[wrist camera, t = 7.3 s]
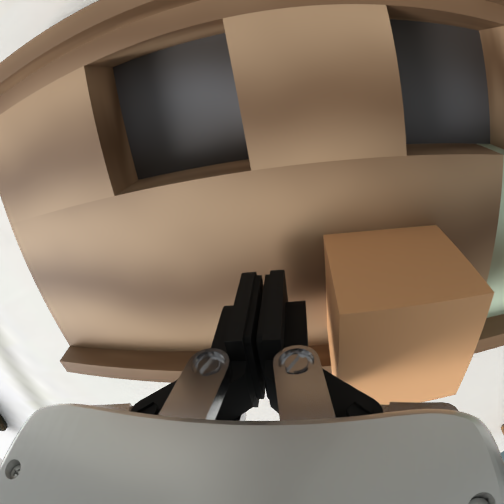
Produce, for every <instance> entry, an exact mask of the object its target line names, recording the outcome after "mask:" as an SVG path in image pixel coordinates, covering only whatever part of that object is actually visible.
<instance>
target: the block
mask: <svg viewBox="0 0 504 504" xmlns="http://www.w3.org/2000/svg"><path fill="white" fill-rule="evenodd" d="M323 239H324V256H325V276H326V303H327V332H328V341H329V350H330V359H331V369H332V374H333V375H334V376H336V377H338V378H339V379H341V380H343V381H344V382H346V383H348V384H349V385H351V386H353V387H354V388H356V389H358V390H359V391H361V392H363V393H365V394H366V395H368V396H370V397H371V398H373V399H375V400H376V401H377V402H378V403H379V404H382V405H389V403H390V402H415V403H420V402H425V401H430V400H434V399H438V398H443V397H447V396H451V395H455V394H456V392H457V390H458V388H459V386H460V384H461V382H462V380H463V377H464V375H465V373H466V371H467V368H468V366H469V364H470V361H471V359H472V356H473V354H474V351H475V349H476V346H477V343H478V341H479V338H480V335H481V333H482V330H483V327H484V324H485V321H486V318H487V315H488V312H489V309H490V306H491V302H492V299H493V295H494V291H493V290H492V289H491V287H490V286H489V285H488V284H487V282H486V281H485V280H484V279H483V277H482V276H481V275H480V274H479V273H478V271H477V270H476V269H475V268H474V266H473V265H472V264H471V263H470V262H469V261H468V259H467V258H466V257H465V256H464V255H463V254H462V252H461V251H460V250H459V249H458V248H457V247H456V246H455V245H454V243H453V242H452V241H451V240H450V239H449V238H448V237H447V236H446V235H445V234H444V233H443V232H442V230H441V229H440V228H439V227H438V226H437V225H430V226H418V227H406V228H394V229H383V230H371V231H360V232H349V233H337V234H326V235H323Z"/></svg>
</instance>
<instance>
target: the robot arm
mask: <svg viewBox="0 0 504 504" xmlns="http://www.w3.org/2000/svg"><path fill="white" fill-rule="evenodd" d="M265 388H266V393H267V397H268V399H269V400H270V405H271V407H272V408H273V409H274V410H275V411H277V412H278V413H279V416H280V421H245V420H246V411H248V410H249V409H251V408H252V407H258V404H259V399H264V395H265ZM0 504H504V462H503V459H502V457H501V454H500V451H499V449H498V446H497V444H496V442H495V440H494V438H493V436H492V434H491V432H490V431H489V429H488V428H487V427H486V425H485V424H484V423H483V422H482V421H481V420H480V419H478V418H477V417H475V416H473V415H470V414H467V413H464V412H459V411H458V410H457V408H456V407H455V406H453V405H451V404H449V403H443V402H439V403H415V402H390V403H389V405H382V404H379V403H378V402H377V401H376V400H375V399H373V398H371V397H370V396H368V395H366V394H365V393H363V392H361V391H359V390H358V389H356V388H354V387H353V386H351V385H349V384H348V383H346V382H344V381H343V380H341V379H339V378H338V377H336V376H334V375H333V374H331V373H329V372H328V371H326V370H324V369H323V368H322V366H321V362H320V359H319V356H318V354H317V352H316V351H314V350H313V349H312V348H310V347H308V330H307V314H306V301H293V302H288V295H287V286H286V278H285V271H284V270H271V271H270V274H267V275H265V279H264V285H263V279H262V275H257V273H256V272H246V273H242V274H241V278H240V282H239V285H238V289H237V293H236V297H235V301H234V305H230V306H224V307H223V309H222V312H221V315H220V319H219V322H218V325H217V329H216V332H215V335H214V339H213V342H212V345H211V348H208V349H204V350H201V351H199V352H197V353H195V354H194V355H193V356H191V358H190V359H189V360H188V362H187V364H186V366H185V367H184V369H183V371H182V373H181V375H180V376H179V378H178V380H176V381H174V382H172V383H171V384H169V385H167V386H165V387H164V388H162V389H160V390H158V391H156V392H155V393H153V394H151V395H149V396H148V397H146V398H144V399H142V400H140V401H139V402H138V403H136V404H135V405H134V406H132V405H131V404H130V403H129V404H113V405H83V404H56V405H50V406H46V407H43V408H40V409H38V410H37V411H35V412H34V413H33V414H32V415H31V416H30V417H29V418H28V420H27V421H26V422H25V424H24V425H23V426H22V428H21V429H20V431H19V432H18V434H17V436H16V437H15V439H14V441H13V442H12V444H11V446H10V448H9V450H8V451H7V453H6V455H5V457H4V459H3V461H2V463H1V465H0Z"/></svg>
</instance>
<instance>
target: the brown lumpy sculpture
mask: <svg viewBox="0 0 504 504" xmlns="http://www.w3.org/2000/svg"><path fill="white" fill-rule="evenodd" d="M6 428H7V426H6V422H5V421H4V419H3V418H2V416H1V415H0V431H5V430H6Z"/></svg>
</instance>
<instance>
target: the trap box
mask: <svg viewBox="0 0 504 504" xmlns="http://www.w3.org/2000/svg"><path fill="white" fill-rule="evenodd" d="M0 196H1V199H2V202H3V205H4V208H5V211H6V213H7V216H8V219H9V222H10V224H11V227H12V230H13V232H14V235H15V237H16V240H17V242H18V245H19V247H20V250H21V252H22V254H23V257H24V259H25V261H26V264H27V266H28V268H29V270H30V272H31V274H32V277H33V279H34V281H35V283H36V285H37V287H38V289H39V291H40V293H41V295H42V297H43V299H44V301H45V303H46V305H47V307H48V308H49V310H50V312H51V314H52V316H53V318H54V319H55V321H56V323H57V325H58V326H59V328H60V330H61V332H62V333H63V335H64V337H65V338H66V340H67V342H68V343H69V345H70V347H69V348H68V350H67V351H66V353H65V354H64V356H63V357H62V359H61V360H60V362H61V363H62V365H63V366H64V368H65V369H66V371H67V372H73V373H80V374H87V375H94V376H102V377H110V378H119V379H129V380H141V381H154V382H171V383H172V382H174V381H176V380H178V378H179V376H180V375H181V373H182V371H183V369H184V367H185V366H186V364H187V362H188V360H189V359H190V358H191V356H193V355H194V354H195V353H197V352H199V351H201V350H204V349H208V348H211V345H212V342H213V339H214V335H215V332H216V329H217V325H218V322H219V319H220V315H221V312H222V309H223V307H224V306H230V305H234V301H235V297H236V293H237V289H238V285H239V282H240V278H241V274H242V273H246V272H256V273H257V275H262V279H263V285H264V279H265V275H267V274H270V271H271V270H284V271H285V278H286V286H287V295H288V302H293V301H306V314H307V330H308V347H310V348H312V349H313V350H314V351H316V352H317V354H318V356H319V359H320V362H321V366H322V368H323V369H324V370H326V371H328V372H329V373H331V374H332V369H331V359H330V350H329V341H328V332H327V303H326V276H325V256H324V239H323V235H326V234H337V233H349V232H360V231H371V230H383V229H394V228H406V227H418V226H430V225H437V226H438V227H439V228H440V229H441V230H442V232H443V233H444V234H445V235H446V236H447V237H448V238H449V239H450V240H451V241H452V242H453V243H454V245H455V246H456V247H457V248H458V249H459V250H460V251H461V252H462V254H463V255H464V256H465V257H466V258H467V259H468V261H469V262H470V263H471V264H472V265H473V266H474V268H475V269H476V270H477V271H478V273H479V274H480V275H481V276H482V277H483V279H484V280H485V281H486V282H487V284H488V285H489V286H490V287H491V289H492V290H493V291H494V295H493V299H492V302H491V306H490V309H489V312H488V315H487V318H486V321H485V324H484V327H483V330H482V333H481V335H480V338H479V341H478V343H477V346H476V349H475V351H474V353H478V352H482V351H486V350H489V349H493V348H496V347H500V346H503V345H504V0H99V1H97V2H95V3H93V4H91V5H89V6H87V7H85V8H83V9H81V10H79V11H78V12H76V13H74V14H72V15H70V16H69V17H67V18H65V19H63V20H62V21H60V22H58V23H57V24H55V25H53V26H52V27H50V28H49V29H47V30H45V31H44V32H42V33H41V34H39V35H38V36H36V37H35V38H33V39H32V40H30V41H29V42H28V43H26V44H25V45H23V46H22V47H21V48H19V49H18V50H16V51H15V52H14V53H12V54H11V55H10V56H9V57H7V58H6V59H5V60H3V61H2V62H1V63H0Z"/></svg>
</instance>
